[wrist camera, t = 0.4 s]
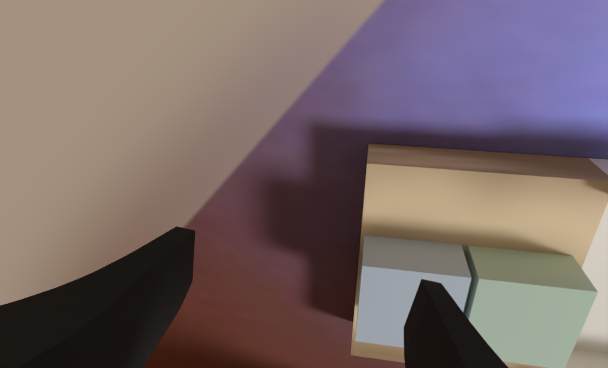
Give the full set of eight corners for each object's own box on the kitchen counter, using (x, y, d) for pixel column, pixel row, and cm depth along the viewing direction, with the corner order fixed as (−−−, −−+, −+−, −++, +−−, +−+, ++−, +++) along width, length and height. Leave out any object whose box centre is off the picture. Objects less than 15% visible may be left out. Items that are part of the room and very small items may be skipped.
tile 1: (545, 329, 20) (564, 369, 18) (451, 317, 21) (459, 355, 19) (572, 255, 18) (598, 291, 16) (468, 245, 19) (479, 278, 17)
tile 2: (445, 316, 21) (452, 354, 19) (357, 305, 22) (355, 341, 20) (461, 244, 19) (471, 277, 17) (364, 235, 20) (362, 265, 17)
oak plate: (522, 344, 24) (537, 381, 22) (353, 322, 26) (350, 354, 23) (588, 158, 19) (616, 182, 16) (368, 143, 20) (367, 163, 18)
